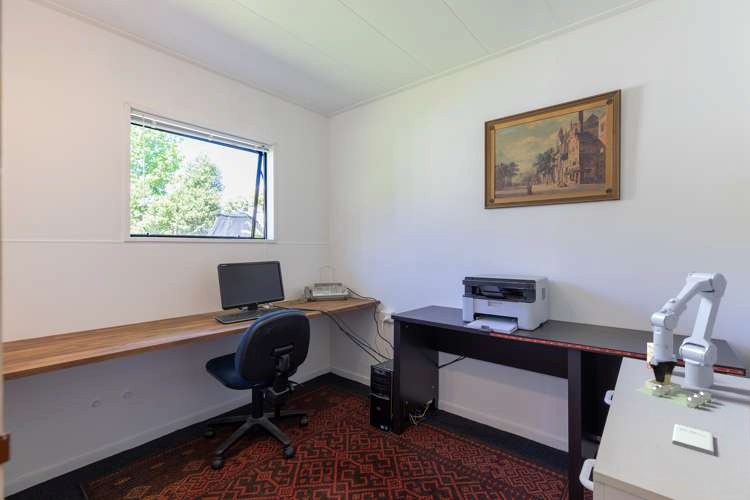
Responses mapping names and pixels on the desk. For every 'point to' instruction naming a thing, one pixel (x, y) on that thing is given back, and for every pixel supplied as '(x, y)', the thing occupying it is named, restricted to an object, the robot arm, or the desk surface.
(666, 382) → the nut
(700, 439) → the external hard drive
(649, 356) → the ink cartridge box
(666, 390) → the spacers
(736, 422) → the desk surface
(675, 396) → the mat
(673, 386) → the tray
